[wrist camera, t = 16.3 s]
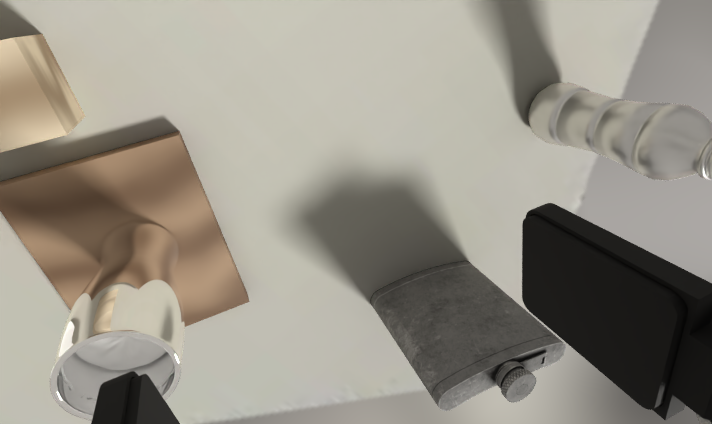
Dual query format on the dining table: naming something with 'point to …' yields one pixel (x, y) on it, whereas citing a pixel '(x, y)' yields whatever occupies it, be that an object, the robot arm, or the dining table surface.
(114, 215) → the serving board
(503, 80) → the dining table surface
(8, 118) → the beech block
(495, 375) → the flask
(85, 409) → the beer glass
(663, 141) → the plastic bottle
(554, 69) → the dining table surface
